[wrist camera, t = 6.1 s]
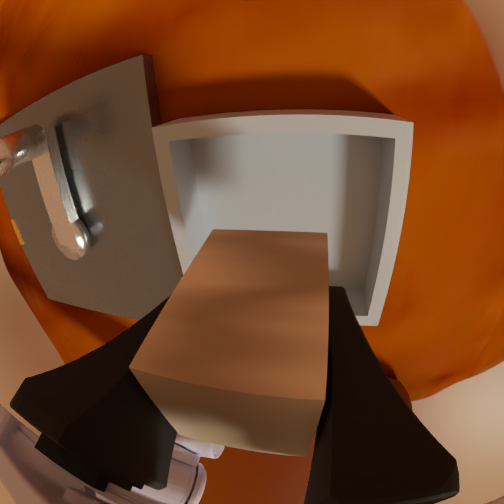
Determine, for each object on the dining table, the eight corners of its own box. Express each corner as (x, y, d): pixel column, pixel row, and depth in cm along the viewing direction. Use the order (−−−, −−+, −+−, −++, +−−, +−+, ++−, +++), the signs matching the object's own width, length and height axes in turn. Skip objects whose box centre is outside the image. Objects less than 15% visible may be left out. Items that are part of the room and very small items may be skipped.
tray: (395, 114, 12) (413, 122, 9) (372, 293, 18) (377, 325, 16) (178, 118, 14) (151, 127, 12) (208, 283, 21) (193, 312, 18)
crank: (96, 254, 20) (42, 312, 14) (68, 252, 20) (17, 303, 15) (55, 100, 13) (-28, 129, 8) (28, 114, 14) (-44, 145, 8)
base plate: (151, 55, 12) (141, 54, 11) (203, 321, 23) (199, 331, 22) (-5, 130, 17) (-14, 134, 16) (53, 293, 27) (47, 299, 26)
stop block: (327, 232, 9) (325, 400, 4) (320, 317, 11) (307, 456, 7) (212, 229, 10) (128, 367, 5) (227, 310, 12) (179, 435, 7)
